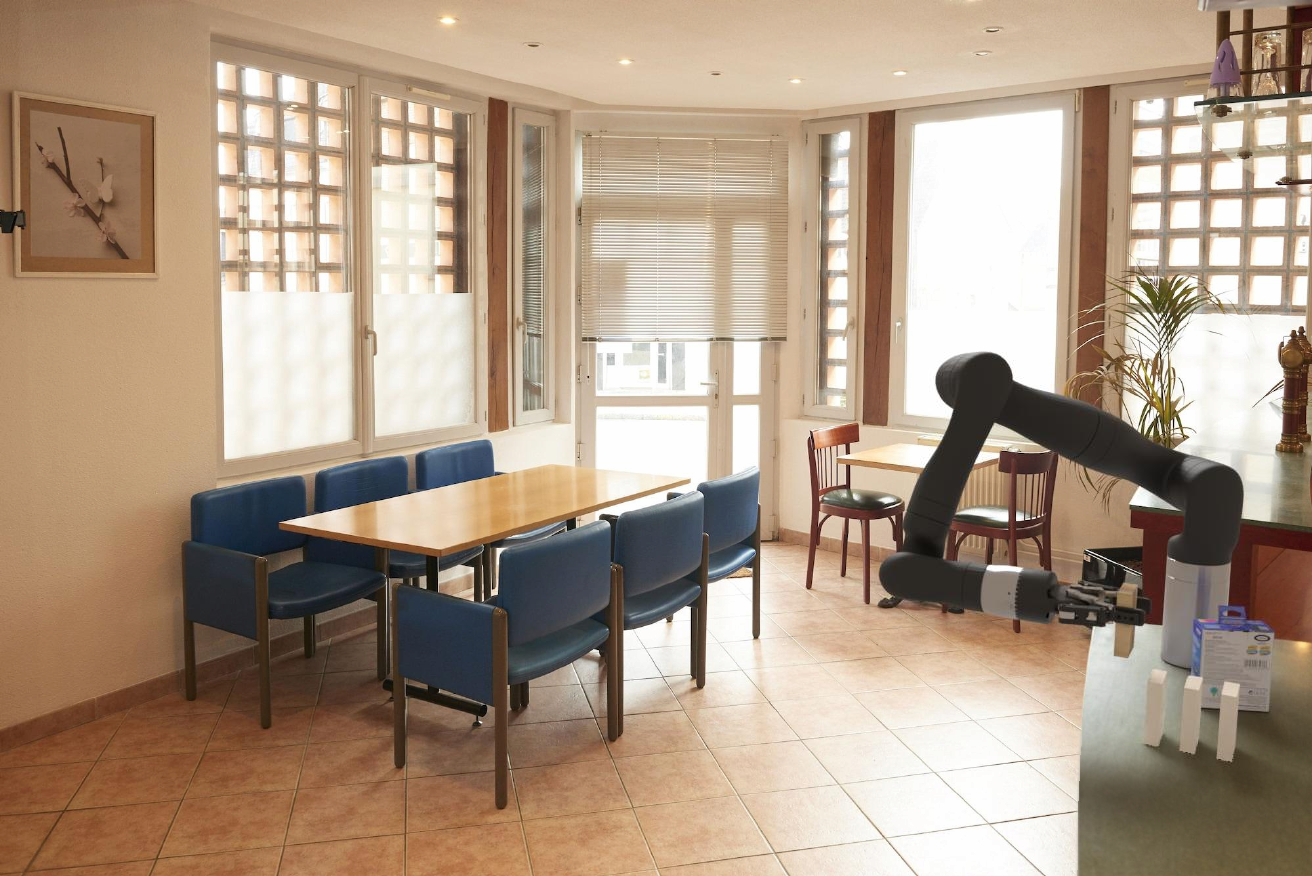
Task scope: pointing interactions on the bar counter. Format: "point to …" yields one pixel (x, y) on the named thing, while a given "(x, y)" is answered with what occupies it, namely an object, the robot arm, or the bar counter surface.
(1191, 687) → the ivory domino
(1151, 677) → the ivory domino
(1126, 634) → the oak domino
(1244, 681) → the ink cartridge box
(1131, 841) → the bar counter surface
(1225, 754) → the ivory domino
